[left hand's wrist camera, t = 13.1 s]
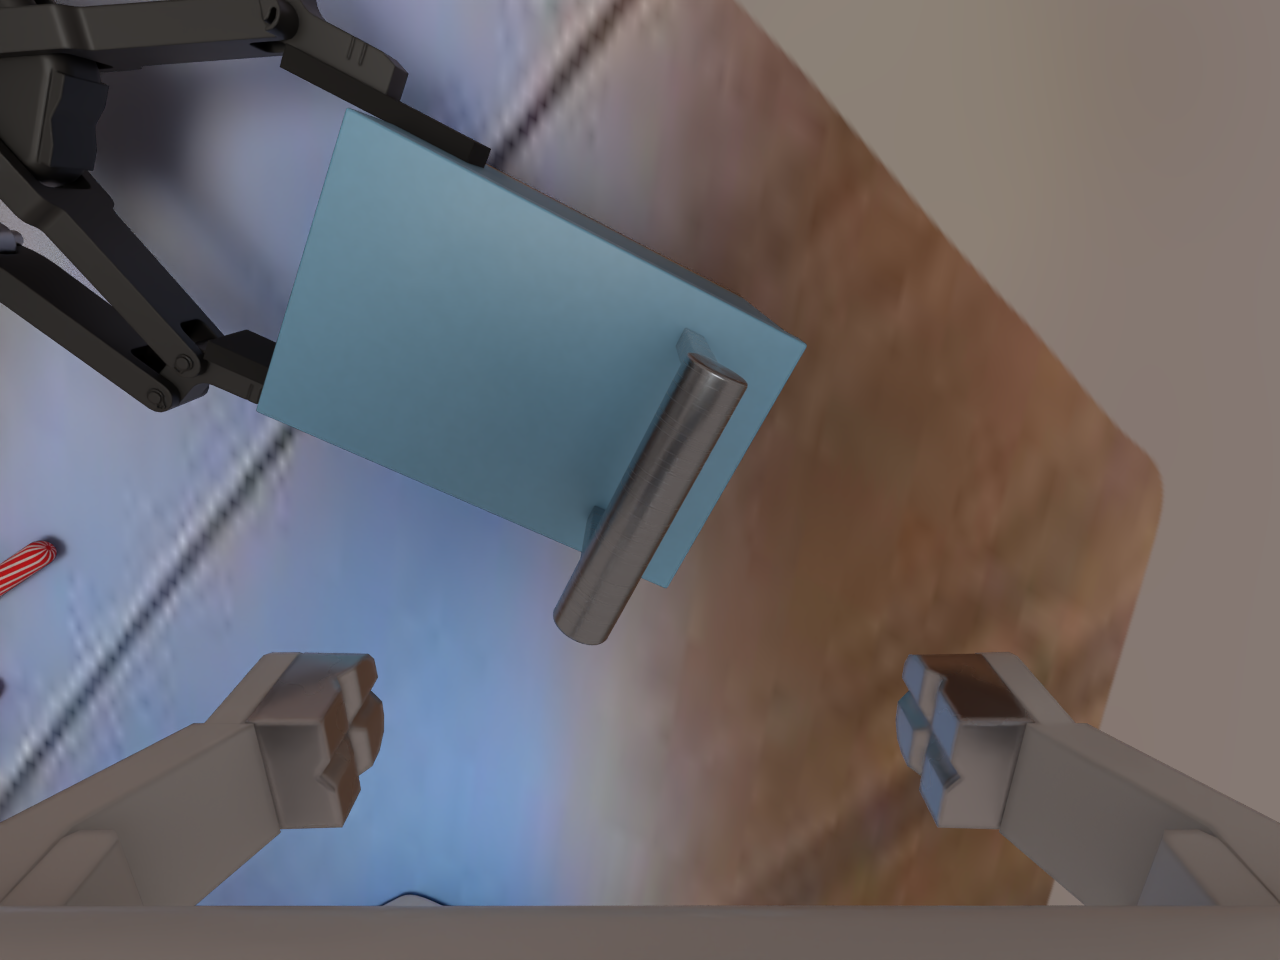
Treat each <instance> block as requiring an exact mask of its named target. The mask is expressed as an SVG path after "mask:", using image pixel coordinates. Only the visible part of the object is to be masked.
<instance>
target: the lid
mask: <svg viewBox="0 0 1280 960" xmlns="http://www.w3.org/2000/svg"><path fill="white" fill-rule="evenodd" d="M806 346H807V345H806V344H805V343H804V342H803V341H801V340H800V339H799V338H797V337H795V336H793V335H791V334H789V333H787V332H786V331H784V330H782V329H780V328H778V327H776V326H774V325H772V324H770V323H768V322H766V321H764V320H762V319H760V318H758V317H757V316H755V315H753V314H751V313H749V312H747V311H745V310H743V309H741V308H739V307H737V306H735V305H733V304H731V303H729V302H728V301H726V300H724V299H722V298H720V297H718V296H716V295H714V294H712V293H710V292H708V291H706V290H704V289H702V288H700V287H698V286H697V285H695V284H693V283H691V282H689V281H687V280H685V279H683V278H681V277H679V276H677V275H675V274H673V273H671V272H669V271H668V270H666V269H664V268H662V267H660V266H658V265H656V264H654V263H652V262H650V261H648V260H646V259H644V258H642V257H640V256H639V255H637V254H635V253H633V252H631V251H629V250H627V249H625V248H623V247H621V246H619V245H617V244H615V243H613V242H611V241H610V240H608V239H606V238H604V237H602V236H600V235H598V234H596V233H594V232H592V231H590V230H588V229H586V228H584V227H582V226H581V225H579V224H577V223H575V222H573V221H571V220H569V219H567V218H565V217H563V216H561V215H559V214H557V213H555V212H553V211H552V210H550V209H548V208H546V207H544V206H542V205H540V204H538V203H536V202H534V201H532V200H530V199H528V198H526V197H524V196H522V195H521V194H519V193H517V192H515V191H513V190H511V189H509V188H507V187H505V186H503V185H501V184H499V183H497V182H495V181H493V180H492V179H490V178H488V177H486V176H484V175H482V174H480V173H478V172H476V171H474V170H472V169H470V168H468V167H466V166H464V165H463V164H461V163H459V162H457V161H455V160H453V159H451V158H449V157H447V156H445V155H443V154H441V153H439V152H437V151H435V150H434V149H432V148H430V147H428V146H426V145H424V144H422V143H420V142H418V141H416V140H414V139H412V138H410V137H408V136H406V135H405V134H403V133H401V132H399V131H397V130H395V129H393V128H391V127H389V126H387V125H385V124H383V123H381V122H379V121H377V120H376V119H374V118H372V117H370V116H368V115H366V114H364V113H361V112H359V111H356V110H353V109H351V108H347V109H346V112H345V115H344V118H343V122H342V125H341V128H340V132H339V135H338V138H337V142H336V145H335V148H334V152H333V155H332V158H331V162H330V165H329V168H328V172H327V175H326V178H325V182H324V185H323V189H322V192H321V195H320V199H319V202H318V205H317V209H316V212H315V215H314V219H313V222H312V225H311V229H310V232H309V235H308V239H307V242H306V245H305V249H304V252H303V255H302V259H301V262H300V266H299V269H298V272H297V276H296V279H295V282H294V286H293V289H292V292H291V296H290V299H289V302H288V306H287V309H286V312H285V316H284V319H283V322H282V326H281V329H280V332H279V336H278V339H277V342H276V346H275V349H274V353H273V356H272V359H271V363H270V366H269V369H268V373H267V376H266V379H265V383H264V386H263V389H262V393H261V396H260V399H259V403H258V406H257V412H259V413H261V414H264V415H266V416H268V417H271V418H273V419H275V420H278V421H280V422H282V423H284V424H287V425H289V426H291V427H294V428H296V429H298V430H301V431H303V432H305V433H308V434H310V435H312V436H315V437H317V438H319V439H321V440H324V441H326V442H328V443H331V444H333V445H335V446H338V447H340V448H342V449H345V450H347V451H349V452H352V453H354V454H356V455H359V456H361V457H363V458H365V459H368V460H370V461H372V462H375V463H377V464H379V465H382V466H384V467H386V468H389V469H391V470H393V471H396V472H398V473H400V474H402V475H405V476H407V477H409V478H412V479H414V480H416V481H419V482H421V483H423V484H426V485H428V486H430V487H433V488H435V489H437V490H439V491H442V492H444V493H446V494H449V495H451V496H453V497H456V498H458V499H460V500H463V501H465V502H467V503H470V504H472V505H474V506H476V507H479V508H481V509H483V510H486V511H488V512H490V513H493V514H495V515H497V516H500V517H502V518H504V519H507V520H509V521H511V522H513V523H516V524H518V525H520V526H523V527H525V528H527V529H530V530H532V531H534V532H537V533H539V534H541V535H544V536H546V537H548V538H550V539H553V540H555V541H557V542H560V543H562V544H564V545H567V546H569V547H571V548H574V549H576V550H578V551H581V558H580V561H579V562H578V564H577V566H576V568H575V570H574V572H573V574H572V576H571V578H570V580H569V582H568V584H567V586H566V588H565V590H564V592H563V593H562V595H561V597H560V599H559V601H558V603H557V605H556V607H555V609H554V612H553V619H554V622H555V624H556V625H557V627H558V628H559V629H560V630H561V631H562V632H563V633H564V634H565V635H566V636H568V637H569V638H571V639H573V640H575V641H577V642H579V643H582V644H587V645H598V644H601V643H603V642H604V641H605V640H606V639H607V638H608V636H609V634H610V633H611V631H612V629H613V627H614V625H615V624H616V622H617V620H618V618H619V616H620V615H621V613H622V611H623V609H624V607H625V606H626V604H627V602H628V600H629V599H630V597H631V595H632V593H633V591H634V590H635V588H636V586H637V584H638V582H639V581H640V579H641V578H643V579H645V580H648V581H650V582H652V583H655V584H657V585H659V586H662V587H664V588H667V587H668V586H669V584H670V582H671V581H672V579H673V577H674V575H675V574H676V572H677V570H678V568H679V567H680V565H681V563H682V561H683V560H684V558H685V556H686V555H687V553H688V551H689V549H690V548H691V546H692V544H693V542H694V541H695V539H696V537H697V536H698V534H699V532H700V530H701V529H702V527H703V525H704V523H705V522H706V520H707V518H708V516H709V515H710V513H711V511H712V510H713V508H714V506H715V504H716V503H717V501H718V499H719V497H720V496H721V494H722V492H723V491H724V489H725V487H726V485H727V484H728V482H729V480H730V478H731V477H732V475H733V473H734V471H735V470H736V468H737V466H738V465H739V463H740V461H741V459H742V458H743V456H744V454H745V452H746V451H747V449H748V447H749V446H750V444H751V442H752V440H753V439H754V437H755V435H756V433H757V432H758V430H759V428H760V426H761V425H762V423H763V421H764V420H765V418H766V416H767V414H768V413H769V411H770V409H771V407H772V406H773V404H774V402H775V401H776V399H777V397H778V395H779V394H780V392H781V390H782V388H783V387H784V385H785V383H786V381H787V380H788V378H789V376H790V375H791V373H792V371H793V369H794V368H795V366H796V364H797V362H798V361H799V359H800V357H801V356H802V354H803V352H804V350H805V349H806Z"/></svg>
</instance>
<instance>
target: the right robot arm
mask: <svg viewBox="0 0 1280 960" xmlns="http://www.w3.org/2000/svg"><path fill="white" fill-rule="evenodd" d="M270 56H283V57H282V61H281V64H280V67H281V68H283V69H285V70H287V71H289V72H291V73H293V74H295V75H297V76H299V77H300V78H302V79H304V80H306V81H308V82H310V83H312V84H314V85H316V86H318V87H320V88H322V89H324V90H326V91H328V92H329V93H331V94H333V95H335V96H337V97H339V98H341V99H343V100H345V101H347V102H349V103H351V104H353V105H355V106H357V107H359V108H360V109H362V110H364V111H366V112H368V113H370V114H372V115H374V116H376V117H378V118H380V119H382V120H384V121H386V122H388V123H391V124H393V125H395V126H397V127H399V128H401V129H403V130H405V131H407V132H409V133H411V134H412V135H414V136H416V137H418V138H420V139H422V140H424V141H426V142H428V143H430V144H432V145H434V146H436V147H438V148H439V149H441V150H443V151H445V152H447V153H449V154H451V155H453V156H455V157H457V158H459V159H461V160H463V161H465V162H466V163H469V164H472V165H476V166H479V167H482V168H484V167H485V164H486V161H487V159H488V156H489V153H490V151H491V149H490V148H488V147H486V146H484V145H482V144H480V143H479V142H477V141H475V140H473V139H471V138H469V137H467V136H465V135H463V134H461V133H459V132H457V131H456V130H454V129H452V128H450V127H448V126H446V125H444V124H442V123H440V122H438V121H436V120H435V119H433V118H431V117H429V116H427V115H425V114H423V113H421V112H419V111H417V110H415V109H414V108H412V107H410V106H408V105H406V104H404V103H402V102H400V99H401V96H402V93H403V89H404V86H405V83H406V80H407V77H408V73H407V72H406V71H405V69H404V68H403V67H402V66H401V65H400V64H399V63H398V62H397V61H396V60H395V59H393V58H392V57H390V56H389V55H387V54H385V53H384V52H382V51H380V50H379V49H377V48H375V47H373V46H371V45H369V44H367V43H365V42H364V41H362V40H360V39H358V38H356V37H354V36H352V35H350V34H349V33H347V32H345V31H343V30H341V29H339V28H337V27H335V26H334V25H332V24H330V23H328V22H326V21H325V20H324V19H323V17H322V16H321V14H320V12H319V10H318V7H317V2H316V0H166V1H153V2H140V3H126V4H113V5H100V6H87V7H74V6H68V5H62V4H56V3H55V2H54V0H0V199H1V200H2V201H3V202H4V203H5V204H6V205H7V207H8V208H9V209H10V210H11V211H12V212H13V213H14V214H15V215H16V216H17V217H18V218H19V219H21V220H22V221H24V222H25V223H27V224H29V225H32V226H34V227H36V228H38V229H40V230H41V231H42V232H44V233H45V234H46V235H47V236H48V238H49V239H50V240H51V241H52V242H53V243H54V244H55V245H56V246H57V247H58V248H59V249H60V250H61V252H62V253H63V254H64V255H65V256H66V257H67V258H68V259H69V260H70V261H71V262H72V263H73V264H74V265H75V267H76V268H77V269H78V270H79V271H80V272H81V273H82V274H83V275H84V276H85V277H86V278H87V279H88V281H89V282H90V283H91V284H92V285H93V286H94V287H95V288H96V289H97V290H98V291H99V292H100V293H101V295H102V296H103V297H104V298H105V299H106V300H107V301H108V302H109V303H110V304H111V305H112V306H111V305H110V304H109V303H107V302H106V301H105V300H103V299H102V298H100V297H99V296H98V295H96V294H95V293H94V292H92V291H91V290H90V289H88V288H87V287H86V286H84V285H83V284H82V283H80V282H79V281H78V280H76V279H75V278H74V277H72V276H71V275H70V274H68V273H67V272H65V271H64V270H63V269H61V268H60V267H59V266H57V265H56V264H55V263H53V262H52V261H50V260H49V259H47V258H46V257H44V256H42V255H40V254H39V253H37V252H35V251H33V250H31V249H28V248H26V247H24V246H22V244H23V237H22V235H21V234H20V233H19V232H17V231H15V230H10V229H9V228H8V227H6V226H5V225H3V224H2V223H0V302H1V303H2V304H4V305H5V306H6V307H8V308H9V309H11V310H12V311H13V312H15V313H16V314H18V315H19V316H20V317H22V318H23V319H25V320H26V321H27V322H29V323H30V324H32V325H33V326H34V327H36V328H37V329H39V330H40V331H41V332H43V333H44V334H46V335H47V336H48V337H50V338H51V339H53V340H54V341H55V342H57V343H58V344H60V345H61V346H62V347H64V348H65V349H67V350H68V351H69V352H71V353H72V354H74V355H75V356H76V357H78V358H79V359H81V360H82V361H83V362H85V363H86V364H88V365H89V366H90V367H92V368H93V369H95V370H96V371H97V372H99V373H100V374H102V375H103V376H104V377H106V378H107V379H109V380H110V381H111V382H113V383H114V384H116V385H117V386H118V387H120V388H121V389H123V390H124V391H125V392H127V393H128V394H130V395H131V396H132V397H134V398H135V399H137V400H138V401H139V402H141V403H142V404H144V405H145V406H146V407H148V408H149V409H151V410H153V411H156V412H164V411H167V410H170V409H172V408H175V407H177V406H180V405H182V404H185V403H187V402H189V401H192V400H194V399H197V398H199V397H202V396H204V395H205V394H206V393H207V392H208V389H209V384H211V385H214V386H216V387H218V388H221V389H223V390H225V391H228V392H230V393H232V394H234V395H237V396H239V397H241V398H244V399H247V400H249V401H250V402H253V403H255V404H258V403H259V399H260V396H261V393H262V389H263V386H264V383H265V379H266V376H267V373H268V369H269V366H270V363H271V359H272V356H273V353H274V349H275V346H276V342H273V341H271V340H269V339H267V338H264V337H262V336H260V335H258V334H256V333H253V332H251V331H249V330H243V331H240V332H236V333H233V334H229V335H226V336H224V335H223V334H222V333H221V331H220V330H219V329H218V328H217V327H216V326H215V325H214V324H213V322H212V321H211V320H210V319H209V318H208V317H207V316H206V315H205V313H204V312H203V311H202V310H201V309H200V308H199V307H198V305H197V304H196V303H195V302H194V301H193V300H192V299H191V298H190V296H189V295H188V294H187V293H186V292H185V291H184V290H183V289H182V287H181V286H180V285H179V284H178V283H177V282H176V281H175V280H174V278H173V277H172V276H171V275H170V274H169V273H168V272H167V271H166V269H165V268H164V267H163V266H162V265H161V264H160V263H159V261H158V260H157V259H156V258H155V257H154V256H153V255H152V254H151V252H150V251H149V250H148V249H147V248H146V247H145V246H144V245H143V243H142V242H141V241H140V240H139V239H138V238H137V237H136V236H135V234H134V233H133V232H132V231H131V230H130V229H129V228H128V227H127V225H126V224H125V223H124V222H123V221H122V220H121V219H120V218H119V216H118V215H117V214H116V213H115V212H114V210H113V207H114V202H113V200H112V199H111V197H110V196H109V195H108V194H107V192H106V191H105V190H104V189H103V188H102V187H101V186H100V185H99V183H98V182H97V181H96V180H95V179H94V178H93V177H92V175H91V174H90V173H89V172H88V171H87V170H91V171H93V168H94V163H95V158H96V152H97V147H96V134H95V125H96V123H97V121H98V119H99V117H100V116H101V114H102V112H103V110H104V108H105V104H106V98H107V93H108V88H109V86H108V85H106V84H104V83H102V82H101V78H100V73H101V72H115V71H128V70H139V69H142V68H141V67H142V66H148V65H162V64H175V63H189V62H202V61H216V60H229V59H243V58H256V57H270Z"/></svg>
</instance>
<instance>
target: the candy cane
mask: <svg viewBox="0 0 1280 960" xmlns="http://www.w3.org/2000/svg"><path fill="white" fill-rule="evenodd" d="M55 557H56V548H55V547H54V545H52V544H51V543H49V542H46V541H36V542H33V543H31V544H29V545H27V546H26V547H24V548H23V549H22V550H20V551H19V552H17V553H16V554H14V555H13V556H11V557H10V558H8V559H7V560H6V561H4V562H3V563H1V564H0V596H2V595H3V594H4V593H6V592H8V591H9V590H10V589H12V588H13V587H15V586H16V585H18V584H19V583H21V582H22V581H24V580H25V579H27V578H28V577H30V576H31V575H33V574H34V573H36V572H37V571H39V570H40V569H42V568H43V567H45V566H46V565H47V564H49V563H50V562H52V561H53V560H54V559H55Z"/></svg>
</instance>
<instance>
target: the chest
mask: <svg viewBox="0 0 1280 960" xmlns="http://www.w3.org/2000/svg"><path fill="white" fill-rule="evenodd" d="M366 115H367V114H366ZM368 116H369V115H368ZM370 117H372V116H370ZM372 118H374V119H376V120H377V121H379V122H381V123H383V124H385V125H387V126H389V127H391V128H393V129H395V130H397V131H399V132H401V133H403V134H405V135H406V136H408V137H410V138H412V139H414V140H416V141H418V142H420V143H422V144H424V145H426V146H428V147H430V148H432V149H434V150H435V151H437V152H439V153H441V154H443V155H445V156H447V157H449V158H451V159H453V160H455V161H457V162H459V163H461V164H463V165H464V166H466V167H468V168H470V169H472V170H474V171H476V172H478V173H480V174H482V175H484V176H486V177H488V178H490V179H492V180H493V181H495V182H497V183H499V184H501V185H503V186H505V187H507V188H509V189H511V190H513V191H515V192H517V193H519V194H521V195H522V196H524V197H526V198H528V199H530V200H532V201H534V202H536V203H538V204H540V205H542V206H544V207H546V208H548V209H550V210H552V211H553V212H555V213H557V214H559V215H561V216H563V217H565V218H567V219H569V220H571V221H573V222H575V223H577V224H579V225H581V226H582V227H584V228H586V229H588V230H590V231H592V232H594V233H596V234H598V235H600V236H602V237H604V238H606V239H608V240H610V241H611V242H613V243H615V244H617V245H619V246H621V247H623V248H625V249H627V250H629V251H631V252H633V253H635V254H637V255H639V256H640V257H642V258H644V259H646V260H648V261H650V262H652V263H654V264H656V265H658V266H660V267H662V268H664V269H666V270H668V271H669V272H671V273H673V274H675V275H677V276H679V277H681V278H683V279H685V280H687V281H689V282H691V283H693V284H695V285H697V286H698V287H700V288H702V289H704V290H706V291H708V292H710V293H712V294H714V295H716V296H718V297H720V298H722V299H724V300H726V301H728V302H729V303H731V304H733V305H735V306H737V307H739V308H741V309H743V310H745V311H747V312H749V313H751V314H753V315H755V316H757V317H758V318H760V319H762V320H764V321H766V322H768V323H770V324H772V325H774V326H776V327H778V328H780V327H779V326H778V325H776V324H775V323H774V322H772V321H771V320H770V319H769V318H767V317H766V316H765V315H763V314H762V313H761V312H760V311H758V310H757V309H756V308H755V307H753V306H752V305H751V304H749V303H748V302H747V301H746V300H744V299H743V298H742V297H741V296H740V295H738V294H736V293H734V292H732V291H730V290H728V289H726V288H724V287H722V286H720V285H718V284H717V283H715V282H713V281H711V280H709V279H707V278H705V277H703V276H701V275H699V274H697V273H695V272H693V271H692V270H690V269H688V268H686V267H684V266H682V265H680V264H678V263H676V262H674V261H672V260H670V259H668V258H667V257H665V256H663V255H661V254H659V253H657V252H655V251H653V250H651V249H649V248H647V247H645V246H643V245H642V244H640V243H638V242H636V241H634V240H632V239H630V238H628V237H626V236H624V235H622V234H620V233H619V232H617V231H615V230H613V229H611V228H609V227H607V226H605V225H603V224H601V223H599V222H597V221H595V220H594V219H592V218H590V217H588V216H586V215H584V214H582V213H580V212H578V211H576V210H574V209H572V208H570V207H569V206H567V205H565V204H563V203H561V202H559V201H557V200H555V199H553V198H551V197H549V196H547V195H545V194H544V193H542V192H540V191H538V190H536V189H534V188H532V187H530V186H528V185H526V184H524V183H522V182H520V181H519V180H517V179H515V178H513V177H511V176H509V175H507V174H505V173H503V172H501V171H499V170H497V169H496V168H494V167H492V166H490V165H488V164H485V167H484V168H482V167H479V166H476V165H472V164H469V163H466V162H465V161H463V160H461V159H459V158H457V157H455V156H453V155H451V154H449V153H447V152H445V151H443V150H441V149H439V148H438V147H436V146H434V145H432V144H430V143H428V142H426V141H424V140H422V139H420V138H418V137H416V136H414V135H412V134H411V133H409V132H407V131H405V130H403V129H401V128H399V127H397V126H395V125H393V124H391V123H388V122H385V121H383V120H380V119H377V118H375V117H372ZM780 329H781V328H780ZM782 330H783V329H782Z"/></svg>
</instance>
